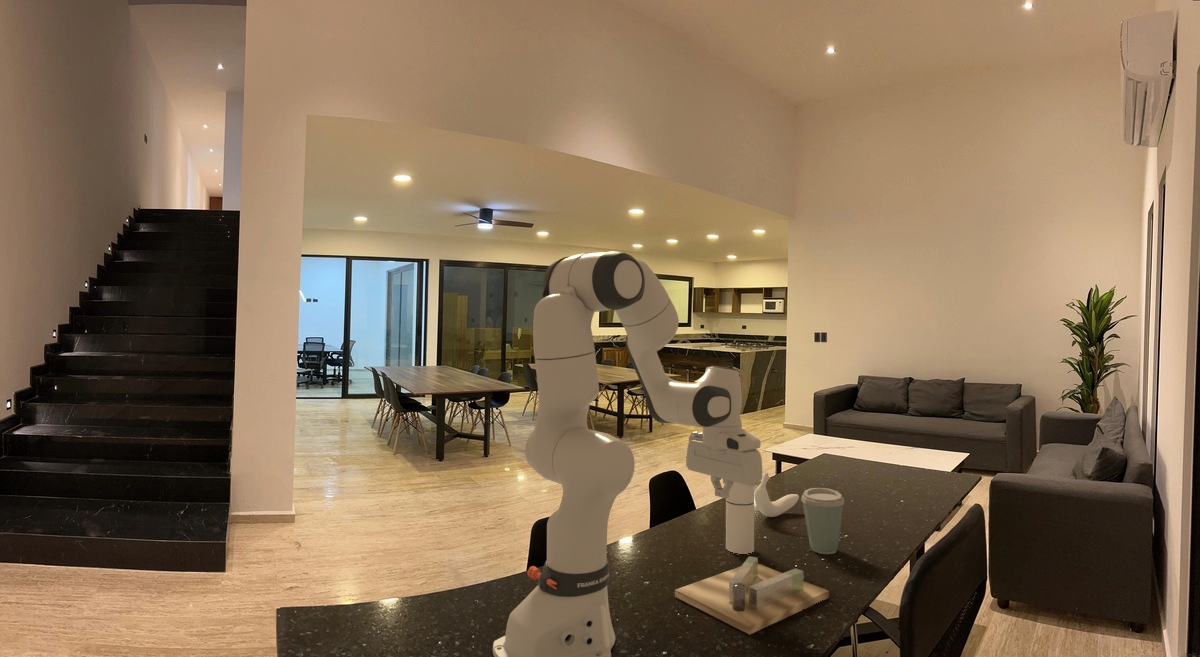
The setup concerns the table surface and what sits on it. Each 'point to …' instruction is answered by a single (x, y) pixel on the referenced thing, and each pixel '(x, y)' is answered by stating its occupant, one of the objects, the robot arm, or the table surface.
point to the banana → (772, 507)
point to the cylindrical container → (740, 519)
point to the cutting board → (747, 600)
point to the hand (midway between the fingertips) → (722, 496)
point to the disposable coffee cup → (823, 518)
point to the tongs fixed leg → (775, 588)
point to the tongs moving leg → (742, 583)
